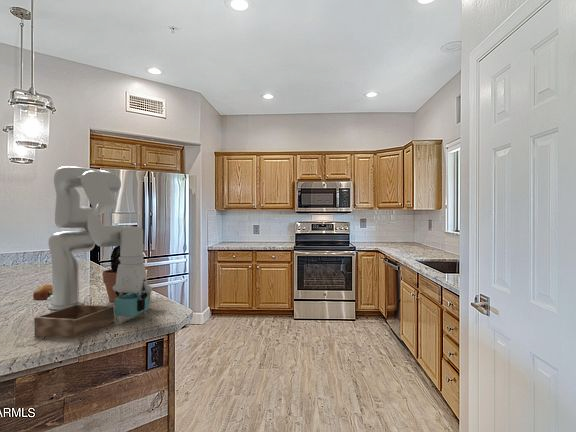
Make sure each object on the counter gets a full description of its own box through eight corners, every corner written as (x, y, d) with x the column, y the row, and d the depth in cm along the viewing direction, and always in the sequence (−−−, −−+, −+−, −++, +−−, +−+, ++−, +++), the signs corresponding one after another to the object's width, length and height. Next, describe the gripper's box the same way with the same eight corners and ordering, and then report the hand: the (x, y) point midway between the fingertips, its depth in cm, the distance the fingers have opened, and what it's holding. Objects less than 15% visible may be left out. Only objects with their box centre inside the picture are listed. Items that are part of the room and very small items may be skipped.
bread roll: (56, 301, 168) (53, 286, 170) (64, 295, 162) (60, 279, 164) (32, 306, 160) (29, 290, 162) (39, 299, 154) (36, 283, 156)
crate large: (34, 336, 109) (34, 317, 109) (76, 320, 124) (76, 304, 124) (76, 339, 105) (75, 320, 105) (113, 323, 121) (113, 306, 121)
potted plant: (95, 301, 151) (94, 245, 151) (120, 294, 164) (119, 242, 164) (119, 304, 146) (118, 245, 146) (143, 296, 159) (142, 243, 159)
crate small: (114, 315, 120) (114, 298, 120) (133, 307, 130) (133, 292, 129) (130, 317, 118) (130, 299, 118) (148, 309, 128) (148, 293, 128)
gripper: (103, 261, 122) (104, 311, 122) (146, 263, 118) (146, 314, 118) (118, 258, 129) (119, 305, 129) (159, 260, 125) (159, 308, 126)
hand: (132, 309), depth 124 cm, fingers closed on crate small, 6 cm apart
